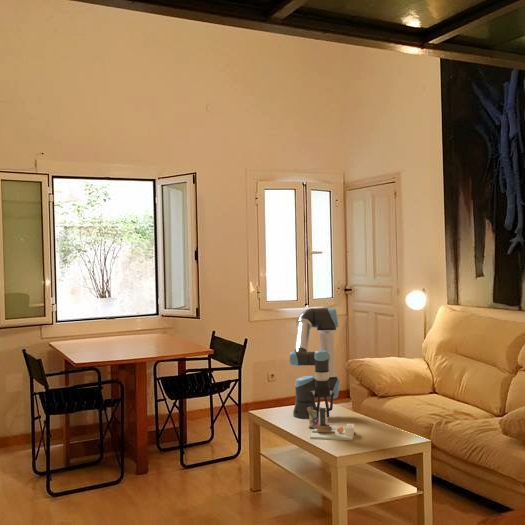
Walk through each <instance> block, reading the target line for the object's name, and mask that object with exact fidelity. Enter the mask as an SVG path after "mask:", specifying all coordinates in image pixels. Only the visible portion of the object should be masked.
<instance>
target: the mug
mask: <svg viewBox="0 0 525 525" xmlns="http://www.w3.org/2000/svg"><path fill="white" fill-rule="evenodd" d="M316 408H317V406H316ZM320 408H323V406H320ZM320 408H319V410H320ZM307 410H308V413H309V418H308V419H309V420H308V424H307V427H309V428H310V429H317V425H318V424H319V417H317V411H316V410H313V407H308V408H307Z"/></svg>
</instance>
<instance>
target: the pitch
mask: <svg viewBox="0 0 525 525" xmlns="http://www.w3.org/2000/svg"><path fill="white" fill-rule="evenodd" d="M355 431H356V430H355V429H354V434H353V436H349V435H345V429H344V431H343V432H342V433H338V432H337V428H333V429H332V430H331V432H317V428H313V430H312V433H311V434H310V437H309V439H313V440H333V441H337V440H338V441H353V440H354V436H355V433H356V432H355Z"/></svg>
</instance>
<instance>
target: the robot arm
mask: <svg viewBox="0 0 525 525" xmlns="http://www.w3.org/2000/svg"><path fill="white" fill-rule="evenodd" d="M338 318H339V317H338V314H337V310H336V308H332V307H323V308H320V307H319V308H318V307H317V308H316V307H315V308H311V307H310V308H307V309H305V310H304V311H303V312H301V313H300V314H299V316H298V317H297V319H296V323H295V327H296V335H295V342H294V350H293V351H290V352H289V365H291V366H298V367H299V366H300V367H301V366H314V375H305V376H300V377H298V378H296V379H295V382H294V383H295V386H294V387H295V403H294V404H295V405H294V408H293V411H292V414H293V417H295V418H297V419H298V418H299V419H309V413H308V410H307V408H308V407H313V410H316V411H317V417H319V424H320V410H319V408H320V407H321V399H324V404H325V408H326V411H325V424H329V423H328V418H330V411H333V406H334V399H337V398H338V397H339V391H340V390H339V389H340V380H341V379H340V378H338V375H337V374H336V373H335V370H336V369H335V335H334V334H335V332H336V331H337V328H339V319H338ZM312 328H316V331H317V332H318V334H319V349H318V350H315V351H309V340H310V332H311V330H312ZM316 399H317V402H316ZM329 399H330V403H329ZM316 407H317V408H316Z"/></svg>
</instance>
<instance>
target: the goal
mask: <svg viewBox="0 0 525 525" xmlns="http://www.w3.org/2000/svg"><path fill="white" fill-rule="evenodd" d="M344 430H345V435H349V436H353V434H354V435H355V433H354V430H355V423H346V427H345V429H344ZM353 437H354V436H353Z"/></svg>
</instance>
